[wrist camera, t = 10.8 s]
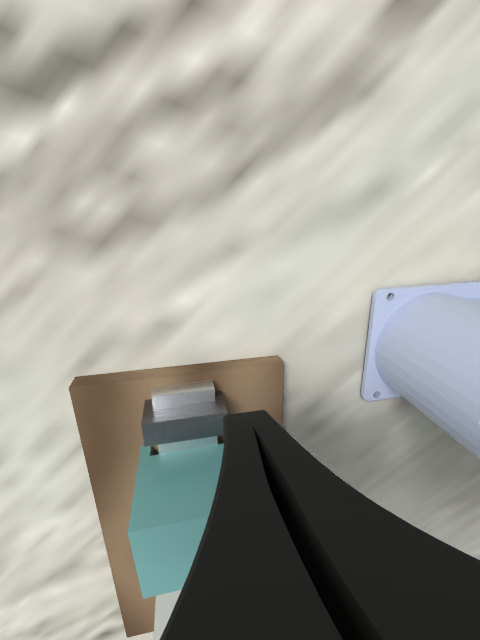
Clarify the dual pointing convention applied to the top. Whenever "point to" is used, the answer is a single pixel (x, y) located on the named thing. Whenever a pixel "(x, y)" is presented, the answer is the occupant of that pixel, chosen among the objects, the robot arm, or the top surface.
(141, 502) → the teal module
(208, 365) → the mounting board
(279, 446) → the robot arm
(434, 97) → the top surface
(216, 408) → the steel rail
